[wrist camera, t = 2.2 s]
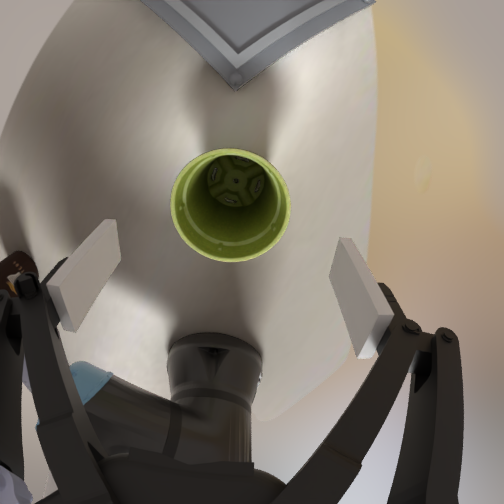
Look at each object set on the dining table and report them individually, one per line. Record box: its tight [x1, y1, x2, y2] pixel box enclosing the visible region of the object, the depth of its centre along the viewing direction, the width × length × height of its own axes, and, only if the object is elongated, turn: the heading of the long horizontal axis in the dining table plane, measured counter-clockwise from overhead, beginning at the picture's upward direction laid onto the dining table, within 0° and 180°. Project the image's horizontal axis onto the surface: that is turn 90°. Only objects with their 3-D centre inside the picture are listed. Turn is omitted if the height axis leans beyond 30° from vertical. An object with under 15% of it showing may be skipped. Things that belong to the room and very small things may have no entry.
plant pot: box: [170, 148, 291, 262], centre depth 26 cm, size 9×9×9 cm
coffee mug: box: [0, 251, 39, 298], centre depth 32 cm, size 12×9×10 cm
